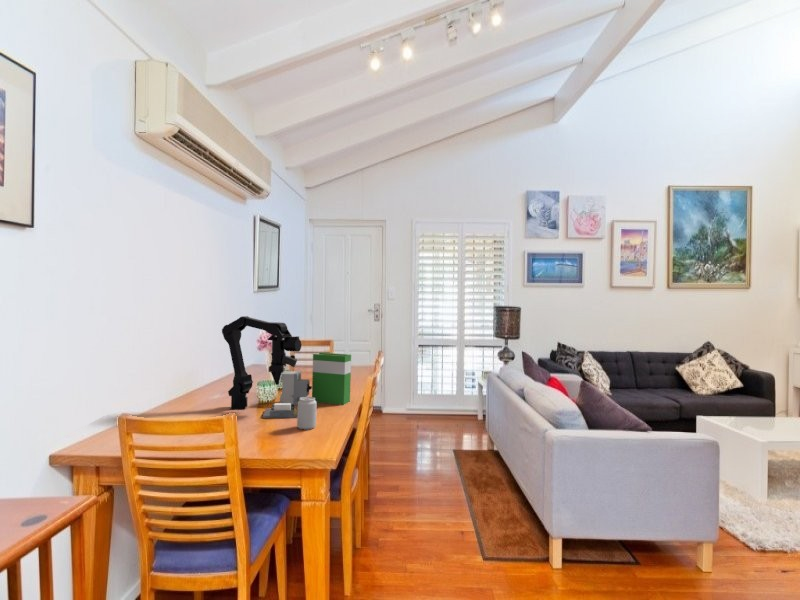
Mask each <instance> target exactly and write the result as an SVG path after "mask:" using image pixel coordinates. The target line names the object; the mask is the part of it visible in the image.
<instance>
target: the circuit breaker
mask: <svg viewBox="0 0 800 600" xmlns="http://www.w3.org/2000/svg"><path fill="white" fill-rule="evenodd" d="M310 381H311V379H305V378H302V371H289V370H286V371H285V370H284V371H283V372H282V373H281V376H280V383H281V384H282V386H281V387H282V388H281V389H282V390H281V394H280V396H279V403H291V404H295V406H298V402H299V400H300V398H302V397H309V395H310V390H311V391H312V385H310Z"/></svg>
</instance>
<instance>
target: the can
mask: <svg viewBox="0 0 800 600" xmlns="http://www.w3.org/2000/svg"><path fill="white" fill-rule="evenodd" d="M317 404H318V402H316V401H315V398H314V397H312V396H307V397H300V400H299V402H298V404H297V408H298V411H297V418H296V421H297V423H296V426H297V428H299V429H300V430H302V429H304V430H303V431H308V430H312V429H314V428H315V427H316V426H317Z"/></svg>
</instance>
